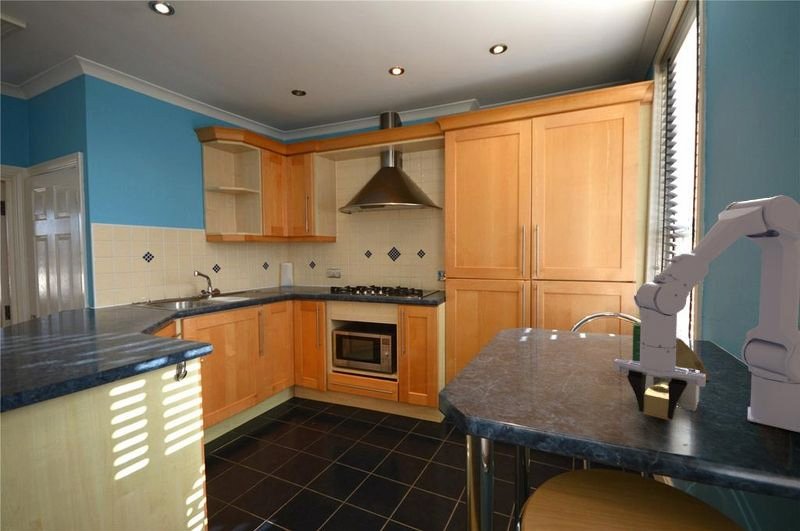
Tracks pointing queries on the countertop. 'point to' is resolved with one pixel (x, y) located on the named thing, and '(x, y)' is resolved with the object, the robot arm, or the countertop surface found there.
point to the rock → (688, 358)
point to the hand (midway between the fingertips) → (656, 413)
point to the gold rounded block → (657, 400)
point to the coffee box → (636, 341)
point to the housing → (688, 396)
